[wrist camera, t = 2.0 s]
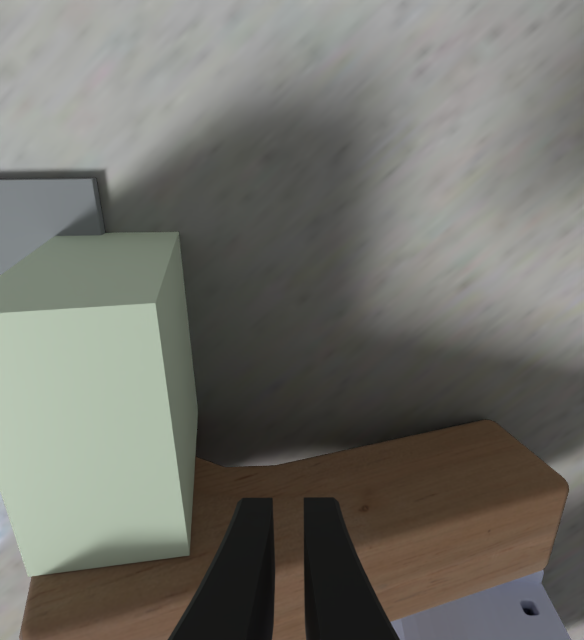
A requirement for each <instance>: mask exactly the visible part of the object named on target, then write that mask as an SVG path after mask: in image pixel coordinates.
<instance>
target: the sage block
mask: <svg viewBox="0 0 584 640" xmlns="http://www.w3.org/2000/svg"><path fill="white" fill-rule="evenodd" d="M197 421H198V406H197V397H196V388H195V378H194V369H193V360H192V351H191V341H190V332H189V323H188V313H187V304H186V295H185V286H184V276H183V267H182V258H181V249H180V239H179V232H121V233H104V234H103V235H92V236H54V237H53V238H51V239H50V240H48V241H47V242H46V243H44V244H43V245H42V246H40V247H39V248H37V249H36V250H35V251H33V252H32V253H31V254H29V255H28V256H26V257H25V258H24V259H22V260H21V261H19V262H18V263H17V264H15V265H14V266H13V267H11V268H10V269H8V270H7V271H6V272H4V273H3V274H2V275H0V492H1V495H2V498H3V501H4V504H5V507H6V510H7V513H8V516H9V519H10V522H11V525H12V528H13V532H14V535H15V538H16V541H17V544H18V547H19V550H20V553H21V556H22V559H23V562H24V565H25V568H26V571H27V575H28V577H31V576H39V575H46V574H54V573H61V572H69V571H76V570H84V569H91V568H99V567H107V566H114V565H122V564H129V563H137V562H144V561H152V560H159V559H167V558H175V557H182V556H190V540H191V523H192V506H193V489H194V472H195V455H196V438H197Z"/></svg>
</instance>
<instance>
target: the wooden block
mask: <svg viewBox="0 0 584 640" xmlns="http://www.w3.org/2000/svg"><path fill="white" fill-rule="evenodd" d="M568 492H569V486H568V483H567V482H566V480H565V479H564V478H563V477H562V476H561V475H559V474H558V473H557V472H556V471H555V470H553V469H552V468H551V467H550V466H548V465H547V464H546V463H545V462H544V461H542V460H541V459H540V458H539V457H537V456H536V455H535V454H534V453H533V452H531V451H530V450H529V449H528V448H526V447H525V446H524V445H523V444H522V443H520V442H519V441H518V440H517V439H515V438H514V437H513V436H512V435H511V434H509V433H508V432H507V431H506V430H504V429H503V428H502V427H501V426H500V425H498V424H497V423H496V422H494V421H491V420H486V419H485V420H481V421H476V422H471V423H467V424H462V425H458V426H453V427H448V428H444V429H439V430H435V431H430V432H426V433H421V434H416V435H412V436H407V437H403V438H398V439H394V440H389V441H384V442H380V443H375V444H371V445H366V446H362V447H357V448H352V449H348V450H343V451H339V452H334V453H330V454H325V455H320V456H316V457H311V458H307V459H302V460H298V461H293V462H288V463H284V464H279V465H271V466H245V467H223V466H220V465H217V464H214V463H212V462H209V461H206V460H204V459H201V458H198V457H195V472H194V489H193V506H192V523H191V540H190V556H182V557H175V558H167V559H159V560H152V561H144V562H137V563H129V564H122V565H114V566H107V567H99V568H91V569H84V570H76V571H69V572H61V573H54V574H46V575H39V576H32V577H31V582H30V587H29V592H28V596H27V601H26V606H25V611H24V616H23V621H22V626H21V631H20V635H19V638H20V640H168V638H169V637H170V635H171V633H172V632H173V630H174V628H175V627H176V625H177V623H178V622H179V620H180V618H181V617H182V615H183V613H184V612H185V610H186V608H187V607H188V605H189V603H190V601H191V600H192V598H193V596H194V594H195V593H196V591H197V589H198V587H199V585H200V583H201V581H202V579H203V577H204V576H205V574H206V572H207V570H208V568H209V566H210V564H211V562H212V560H213V558H214V556H215V554H216V552H217V550H218V548H219V546H220V544H221V542H222V540H223V537H224V535H225V533H226V531H227V528H228V526H229V524H230V521H231V519H232V516H233V514H234V511H235V508H236V505H237V502H238V501H239V500H241V499H242V498H273V520H274V546H275V601H274V627H273V635H272V640H306V633H305V607H304V497H334V498H335V499H336V500H337V501H338V502H339V504H340V508H341V512H342V515H343V518H344V521H345V524H346V527H347V530H348V533H349V535H350V538H351V540H352V543H353V545H354V548H355V550H356V552H357V555H358V557H359V559H360V562H361V564H362V566H363V568H364V571H365V573H366V575H367V577H368V579H369V581H370V583H371V585H372V587H373V589H374V591H375V593H376V595H377V597H378V599H379V601H380V603H381V605H382V607H383V609H384V611H385V613H386V615H387V617H388V619H389V621H390V622H392V621H395V620H398V619H401V618H404V617H406V616H409V615H412V614H415V613H418V612H421V611H424V610H427V609H430V608H433V607H436V606H439V605H442V604H445V603H448V602H451V601H454V600H457V599H459V598H462V597H465V596H468V595H471V594H474V593H477V592H480V591H483V590H486V589H489V588H492V587H495V586H498V585H501V584H504V583H507V582H510V581H512V580H515V579H518V578H521V577H524V576H527V575H530V574H533V573H536V572H539V571H541V570H543V569H544V568H545V567H546V566H547V564H548V562H549V558H550V555H551V551H552V548H553V544H554V541H555V537H556V534H557V531H558V527H559V524H560V520H561V517H562V513H563V510H564V506H565V503H566V499H567V496H568Z"/></svg>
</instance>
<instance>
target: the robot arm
mask: <svg viewBox="0 0 584 640" xmlns="http://www.w3.org/2000/svg"><path fill="white" fill-rule="evenodd" d="M543 575H544V571H543V570H541V571H539V572H536V573H533V574H530V575H527V576H524V577H521V578H518V579H515V580H512V581H510V582H507V583H504V584H501V585H498V586H495V587H492V588H489V589H486V590H483V591H480V592H477V593H474V594H471V595H468V596H465V597H462V598H459V599H457V600H454V601H451V602H448V603H445V604H442V605H439V606H436V607H433V608H430V609H427V610H424V611H421V612H418V613H415V614H412V615H409V616H406V617H404V618H401V619H398V620H395V621H392V622H390V621H389V619H388V617H387V615H386V613H385V611H384V609H383V607H382V605H381V603H380V601H379V599H378V597H377V595H376V593H375V591H374V589H373V587H372V585H371V583H370V581H369V579H368V577H367V575H366V573H365V571H364V568H363V566H362V564H361V562H360V559H359V557H358V555H357V552H356V550H355V548H354V545H353V543H352V540H351V538H350V535H349V533H348V530H347V527H346V524H345V521H344V518H343V515H342V512H341V508H340V504H339V502H338V501H337V500H336V499H335V498H334V497H304V607H305V633H306V640H571V638H570V636H569V634H568V633H567V631H566V629H565V627H564V625H563V623H562V621H561V619H560V617H559V615H558V614H557V612H556V610H555V608H554V606H553V604H552V602H551V600H550V598H549V596H548V595H547V593H546V591H545V589H544V587H543V585H542V583H541V582H542V579H543ZM274 601H275V546H274V520H273V498H242V499H241V500H239V501H238V502H237V505H236V508H235V511H234V514H233V516H232V519H231V521H230V524H229V526H228V528H227V531H226V533H225V535H224V537H223V540H222V542H221V544H220V546H219V548H218V550H217V552H216V554H215V556H214V558H213V560H212V562H211V564H210V566H209V568H208V570H207V572H206V574H205V576H204V577H203V579H202V581H201V583H200V585H199V587H198V589H197V591H196V593H195V594H194V596H193V598H192V600H191V601H190V603H189V605H188V607H187V608H186V610H185V612H184V613H183V615H182V617H181V618H180V620H179V622H178V623H177V625H176V627H175V628H174V630H173V632H172V633H171V635H170V637H169V638H168V640H272V635H273V627H274Z"/></svg>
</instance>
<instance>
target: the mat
mask: <svg viewBox="0 0 584 640" xmlns="http://www.w3.org/2000/svg"><path fill="white" fill-rule="evenodd" d="M104 233H105V228H104V222H103V216H102V210H101V204H100V198H99V192H98V186H97V181H96V178H46V179H0V275H2V274H3V273H4V272H6V271H7V270H8V269H10V268H11V267H13V266H14V265H15V264H17V263H18V262H19V261H21V260H22V259H24V258H25V257H26V256H28V255H29V254H31V253H32V252H33V251H35V250H36V249H37V248H39V247H40V246H42V245H43V244H44V243H46V242H47V241H48V240H50V239H51V238H53V237H54V236H92V235H103V234H104Z"/></svg>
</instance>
